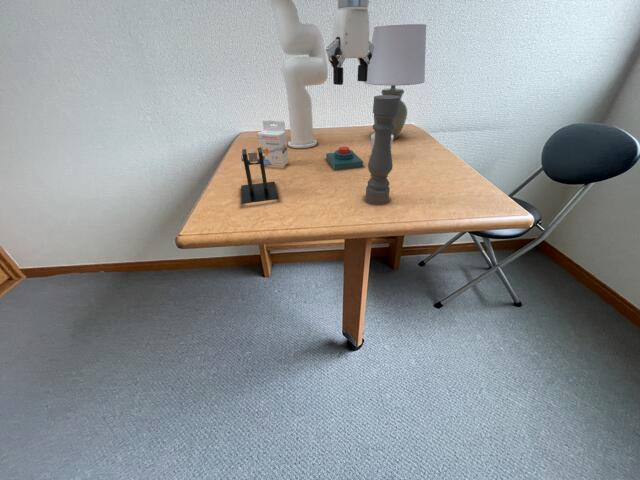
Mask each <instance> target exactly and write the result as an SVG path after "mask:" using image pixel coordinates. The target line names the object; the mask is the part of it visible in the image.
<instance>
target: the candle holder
mask: <svg viewBox="0 0 640 480" xmlns="http://www.w3.org/2000/svg"><path fill="white" fill-rule="evenodd" d="M399 102H400V96H395V95H382V94H381V95H375V96H373V106H372V113H373V119H374V118H375V121H376V123H375V124H374V123H373V125H372V130H373V131H374V134H375V141H374V147H373V150H372V153H370V156H369V160H368V163H367V169H368V172H369V174H370V178H369V180H367V186H365V201H366V202H367V203H369V204H371V205H378V206H379V205H384V204H386V203H388V202H389V199H390V190H391V188H390V181H389V179H388V177H389V174H390V173H391V172H392V170H393V158H392V157H393V156H392V147H390V144H391V135H392V132H393V130H394V129H395V125H394V124H393V121H394V119H395V118H396V116H397V113H398V111H399Z"/></svg>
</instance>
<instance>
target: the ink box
mask: <svg viewBox="0 0 640 480" xmlns="http://www.w3.org/2000/svg"><path fill="white" fill-rule="evenodd" d="M273 124H274V125H276V126H274V125H273ZM262 127H263V129H262V130H261V131H259V132H257V139H258V145H259V147H258V148H261V149H262V154H264V156H265V159H263V161H264V166H274V167H285V166H286V165H287V164H288V163H289V154H288V153H289V152H288V141H287V131H286V126H285V121H283V120H262Z"/></svg>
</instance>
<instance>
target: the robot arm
mask: <svg viewBox="0 0 640 480" xmlns="http://www.w3.org/2000/svg"><path fill="white" fill-rule="evenodd" d="M267 1H268V2H269V6H270V8H271V10H272V13H273V16H274V22H275V27H276V30H277V36H278V40H279V44H280V47H281V50H282V52H283V53H284V54H285V55H287V56H293V57H290V58H287V59H286V60H285V61H284V62H283V63H282V69H281V71H282V77H283V81H284V86H285V91H286V96H287V97H286V99H287V107H288V109H287V110H288V119H289V131H290V132H289V133H290V140H289V141H287V147H290V148H293V149H309V148H313V147H315V146H317V144H318V140H317V139H315V138H314V128H313V127H314V125H313V107H312V106H313V104H312V96H311V95H310V93H309V92H308V90H307V88H306V87H308V86H309V87H311V86H319V85H323V84H324V83H326V81H327V79H328V76H329V75H328V74H329V70H328V69H329V68H328V62H329V64H330V65H331V68H332V69H333V70H332V71H333V73H332V75H333V78H332V79H333V81H332V82H333V85H337V86H343V84H344V67H342V66H343V64H344V62H345V60H346V59H357V61H358V63H359V64H358V65H357V82H363V83H364V82H365V81H367V72H368V65H369V64H370V59H371V58H372V54H373V51H374V45H373V44H372V41H370V13H369V2H370V1H369V0H337V10H336V11H335V10H334V11H335V12H334V17H333V23H332V24H333V25H332V36H331V43H330V44H328V46H326V47H325V45H324V39H323V35H322V32H321V30H320V28H319V27H318V26H317V25H316V24H314V23H303V22H301V20H300V18H299V13H298V9H297V7H296V4H295V3H294V1H293V0H267ZM326 54H327V57H328V62H327V57H326ZM307 55H308V56H307ZM294 56H295V57H294Z"/></svg>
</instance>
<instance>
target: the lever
mask: <svg viewBox="0 0 640 480" xmlns="http://www.w3.org/2000/svg"><path fill="white" fill-rule="evenodd" d="M247 157H248V162H249V166H254V165H260V161H259V157H258V151H251V152H249V151H248V152H247Z"/></svg>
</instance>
